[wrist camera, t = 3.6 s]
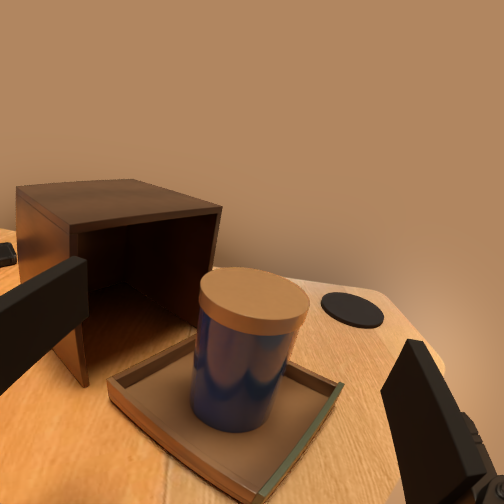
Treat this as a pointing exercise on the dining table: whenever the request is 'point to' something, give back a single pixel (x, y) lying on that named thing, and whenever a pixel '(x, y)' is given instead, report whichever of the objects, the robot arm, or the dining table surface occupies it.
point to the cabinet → (118, 243)
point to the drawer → (218, 442)
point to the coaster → (352, 310)
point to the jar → (243, 345)
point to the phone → (7, 254)
